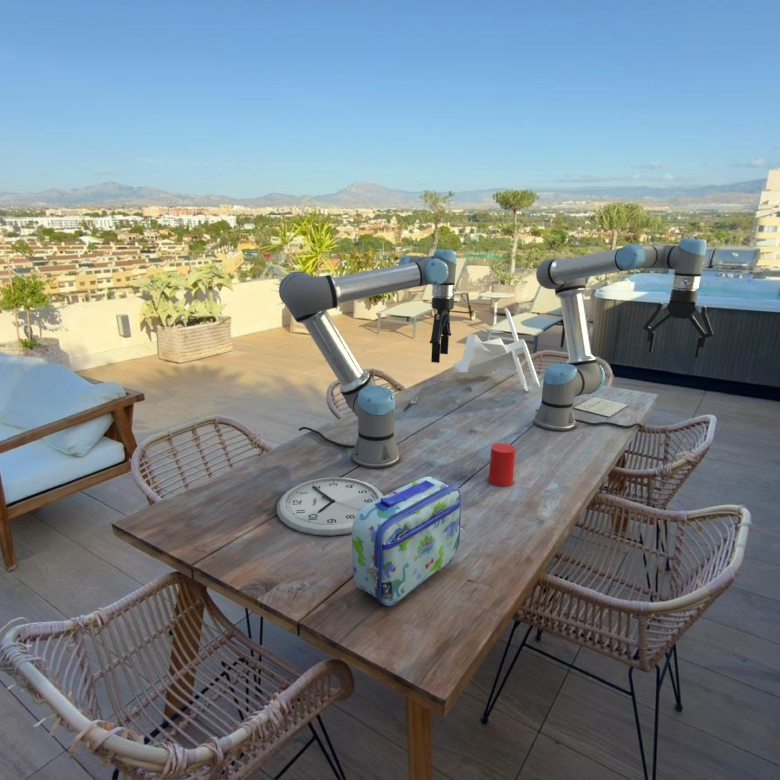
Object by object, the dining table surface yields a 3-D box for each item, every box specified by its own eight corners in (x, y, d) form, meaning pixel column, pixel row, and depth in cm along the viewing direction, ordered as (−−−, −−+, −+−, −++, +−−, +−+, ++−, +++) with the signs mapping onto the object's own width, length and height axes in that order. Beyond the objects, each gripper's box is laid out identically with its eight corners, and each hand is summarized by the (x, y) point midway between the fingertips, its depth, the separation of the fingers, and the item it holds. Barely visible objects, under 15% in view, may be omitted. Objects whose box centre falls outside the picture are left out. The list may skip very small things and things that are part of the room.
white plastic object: (474, 420, 264) (452, 397, 239) (456, 347, 286) (434, 319, 261) (545, 396, 252) (530, 369, 227) (521, 322, 274) (504, 290, 249)
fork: (400, 411, 216) (400, 406, 215) (412, 399, 230) (412, 395, 230) (406, 412, 215) (406, 407, 215) (418, 400, 230) (418, 396, 229)
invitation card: (608, 416, 214) (573, 407, 224) (608, 416, 214) (573, 408, 224) (628, 404, 229) (594, 396, 238) (628, 405, 229) (594, 397, 238)
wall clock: (392, 527, 129) (268, 531, 127) (391, 533, 130) (269, 537, 127) (383, 473, 158) (282, 475, 155) (383, 478, 158) (282, 480, 156)
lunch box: (381, 619, 101) (382, 525, 95) (345, 592, 109) (344, 503, 102) (464, 563, 119) (469, 480, 113) (428, 543, 126) (432, 464, 120)
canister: (513, 487, 155) (517, 453, 151) (489, 485, 155) (492, 451, 152) (511, 476, 161) (514, 443, 158) (487, 474, 162) (490, 442, 159)
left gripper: (446, 302, 165) (442, 367, 171) (460, 293, 188) (457, 351, 194) (423, 300, 167) (420, 365, 173) (440, 292, 190) (437, 349, 196)
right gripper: (640, 287, 170) (630, 350, 177) (730, 293, 158) (716, 361, 164) (644, 285, 176) (634, 347, 183) (730, 291, 164) (717, 357, 170)
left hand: (439, 358), depth 184 cm, fingers open, 13 cm apart
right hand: (673, 354), depth 173 cm, fingers open, 13 cm apart
